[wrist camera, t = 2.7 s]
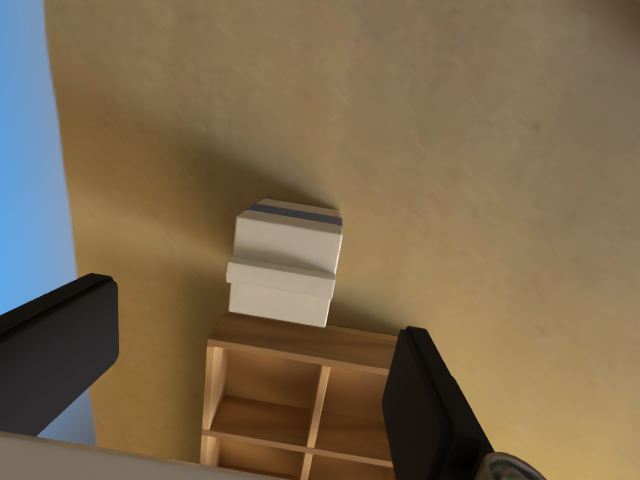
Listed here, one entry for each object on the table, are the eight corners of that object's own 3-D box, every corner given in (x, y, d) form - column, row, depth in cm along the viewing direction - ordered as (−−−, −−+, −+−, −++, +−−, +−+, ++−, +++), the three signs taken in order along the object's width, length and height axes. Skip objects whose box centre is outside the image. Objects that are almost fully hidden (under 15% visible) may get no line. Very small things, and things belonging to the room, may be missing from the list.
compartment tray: (228, 307, 21) (206, 338, 17) (430, 341, 21) (449, 379, 17) (211, 515, 27) (192, 569, 23) (368, 543, 27) (373, 601, 23)
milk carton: (263, 197, 19) (229, 218, 13) (341, 210, 19) (344, 238, 13) (255, 270, 20) (221, 320, 14) (328, 282, 20) (325, 337, 14)
